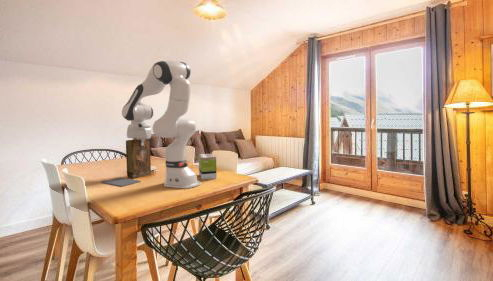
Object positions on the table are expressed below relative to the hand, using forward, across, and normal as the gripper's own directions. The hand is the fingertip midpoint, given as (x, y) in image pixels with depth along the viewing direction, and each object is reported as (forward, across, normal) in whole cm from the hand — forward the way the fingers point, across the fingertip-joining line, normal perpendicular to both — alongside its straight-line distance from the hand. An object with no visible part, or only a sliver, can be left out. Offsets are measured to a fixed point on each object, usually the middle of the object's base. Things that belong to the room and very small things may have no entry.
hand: (139, 145), depth 174 cm
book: (+21, 0, 0) cm, 21 cm away
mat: (+21, +4, -18) cm, 28 cm away
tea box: (+21, +42, +20) cm, 51 cm away
